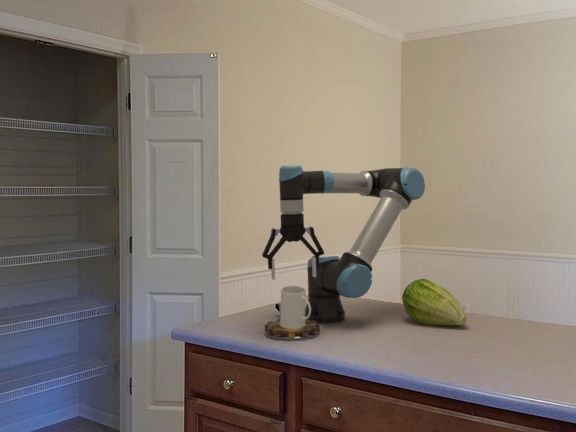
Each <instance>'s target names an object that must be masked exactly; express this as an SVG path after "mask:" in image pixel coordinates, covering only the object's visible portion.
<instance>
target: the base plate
mask: <svg viewBox="0 0 576 432" xmlns="http://www.w3.org/2000/svg"><path fill="white" fill-rule="evenodd" d="M320 335H321V329H320V330H318V333H316V334H312V333H311V334H309V336H304V337H303V336H295V337H289V336H281V337H278V336H275V335H274V334H270V335H269V334H267V333H266V331H265V330H264V336H265V337H266V338H268V339H271V340H275V341H276V340H277V341H284V342H285V341H287V342H288V341H290V342H293V341H295V342H296V341H297V342H298V341H305V340H311V339H314V338H316V337H318V336H320Z"/></svg>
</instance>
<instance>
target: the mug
mask: <svg viewBox="0 0 576 432" xmlns="http://www.w3.org/2000/svg"><path fill="white" fill-rule="evenodd" d="M306 291H307V290H306V288H304V287H301V286H296V285H288V286H284V287H281V288H280V303H281V316H280V326H281V327H283V328H286V329H300V328H303V327H304V326H305V320H306V319H308V318H309V316H310V314H311V306H310V303H309V301H308V298H306V297H307V296H306V295H307V292H306ZM307 304H308V307H309V314H308V316H307V317H305V308H306V305H307Z"/></svg>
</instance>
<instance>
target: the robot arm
mask: <svg viewBox="0 0 576 432" xmlns="http://www.w3.org/2000/svg"><path fill="white" fill-rule="evenodd" d="M278 181H279V182H278V183H279V200H280V201H279V203H280V204H279V207H280V208H279V209H280V213H281V214H280V228H278V229H277V228H271V230H270V236H269V239H267V240H268V241H267V242H266V243H267V244H266V245H265V247H264V250H263V251H262V254H261V256H262V258H264V259H267V268H268V270H271V280H273V281H274V280H276V268H275V267H276V264H275V262H276V261H275V259H274V257H275V255H276V254H277V252H278V251H279V250H280V249H281V248H282V246H283V245H284V244H285V243H286V242H288V243H291V242H295V243H296V242H299V241H300V242H302V243H303V245H304V246H305V247H306V248H307V249H308V250H309V251H310V252H311V254H312V255H313V256H311V258H309V259H308V261H307V268H306V270H307V293H308V295H307V297H308V298H307V300H308V301H309V303H310V306H311V314H310V316H309V318H308V320H309V321H317V324H325V325H326V324H336V323H340V322H343V321H345V320H346V314H345V313H346V311H345V309H344V306H343V303H342V300H341V296H342V297H344V298H350V299H351V298H352V299H358V298H360V297H361V298H362V296H364V295H366V294H367V293H368V291H369V290H370V289H371V287H372V283H373V280H372V278H373V273H372V272H373V266H372V262H373V260H375V257H376V256H377V253H378V252H379V251H380V249H381V247H382V246H383V244H384V241H385V240H386V238H387V237H388V234H389V233H390V231H391V229H392V228H393V226H394V224H395V222H396V221H397V219H398V218H399V215H400V214H401V213H402V211H404V210H407V209H408V208H409V207H410V205H411V203H412V201H416V200H419V199H420V198H422V196H423V195H424V192H425V189H426V183H425V178H424V176H423V174H422V172H421V171H420V170H419V169H417V168H416V167H409V166H404V167H390V168H389V167H388V168H387V167H386V168H379V169H373V170H362V171H360V172H359V173H356V172H355V173H351V172H350V173H349V172H345V173H344V172H331V171H329V170H323V169H321V170H310V171H308V170H307V171H304V170H303V166H302V165H300V164H299V165H296V164H294V165H293V164H292V165H290V164H289V165H281V166H280V167H279V172H278ZM307 194H308V195H310V194H312V195H314V194H316V195H317V194H359V195H360V196H363V197H374V198H380V200H379V201H378V203H377V204H376V207H375V208H374V210H373V212H372V213H371V215H370V216H369V218H368V220H367V221H366V223H365V225H364V226H363V228H362V230H361V231H360V233H359V234H358V237H357V238H356V240H355V242H354V243H353V245H352V246H351V248H350V250H348V251H344V252H343V254H342V255H341V257H339V256H338V255H332V256H331V255H330V256H322V255H325V251H324V249H323V247H322V245H321V244H320V242H319V239H318V237H317V236H316V234H315V228H314V227H313V226H309V227H305V221H304V220H305V219H304V217H305V216H304V213H303V212H304V195H307ZM306 233H307V234H308V235H309V236H310V238H311V240H312V242H313V244H314V245H315V248H316V249H315V248H314V247H313V246H312V245H311V244H310V242H308V240H307V239H306V238H305V237H304V235H305V234H306ZM279 234H280V235H281V238H280V239H279V241H278V242H277V244H276V245H275V246H274V247H273V249H271V247H272V245H273V243H274V241H275V239H276V237H277V236H278V235H279ZM270 249H271V251H270ZM316 250H317V251H316ZM308 314H309V307H308V304H307V303H306V304H305V317H307V316H308Z"/></svg>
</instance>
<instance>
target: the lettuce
mask: <svg viewBox="0 0 576 432" xmlns="http://www.w3.org/2000/svg"><path fill="white" fill-rule="evenodd" d="M401 301H402V304H403V307H404V309H405V312H406V314H407V315H408V316H409V317H410V318H411V319H413V320H414V321H417V322H419V323H421V324H426V325H432V326H434V325H435V326H454V325H455V326H457V325H458V326H463V325H465V323H466V322H467V319H468V318H467V315H466V313H465V311H464V309H463V307H462V306H461V304H460V301H459V300H458V299H457V298H456V297H455V296H454V295H452V294H451V292H450V291H448V290H447V288H445V287H441V285H439V284H436V283H435V282H432V281H431V280H428V279H426V278H420V279H416V280H414V281H412V282H410V283H409V284H408V285H407V286H405V288H404V290H403V293H402V296H401Z"/></svg>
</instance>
